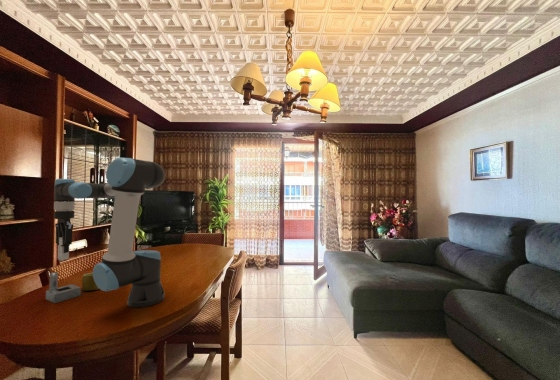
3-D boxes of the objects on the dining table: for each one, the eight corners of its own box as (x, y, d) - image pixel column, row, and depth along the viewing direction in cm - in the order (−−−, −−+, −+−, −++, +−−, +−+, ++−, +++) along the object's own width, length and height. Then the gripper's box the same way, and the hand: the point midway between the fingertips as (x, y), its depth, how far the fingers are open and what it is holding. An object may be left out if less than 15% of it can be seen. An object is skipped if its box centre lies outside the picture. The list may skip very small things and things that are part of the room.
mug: (92, 290, 122) (91, 269, 125) (76, 295, 124) (76, 275, 127) (114, 286, 134) (113, 268, 137) (99, 291, 136) (98, 272, 139)
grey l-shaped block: (80, 295, 120) (81, 275, 120) (54, 303, 111) (54, 281, 112) (64, 289, 129) (64, 270, 130) (39, 295, 120) (39, 275, 121)
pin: (68, 259, 118) (69, 236, 119) (60, 261, 116) (60, 237, 116) (65, 258, 120) (66, 236, 120) (57, 260, 117) (58, 237, 118)
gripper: (81, 210, 118) (80, 259, 117) (66, 209, 126) (65, 255, 125) (62, 211, 111) (60, 262, 111) (47, 210, 119) (46, 258, 119)
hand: (63, 258), depth 118 cm, fingers closed on pin, 3 cm apart
